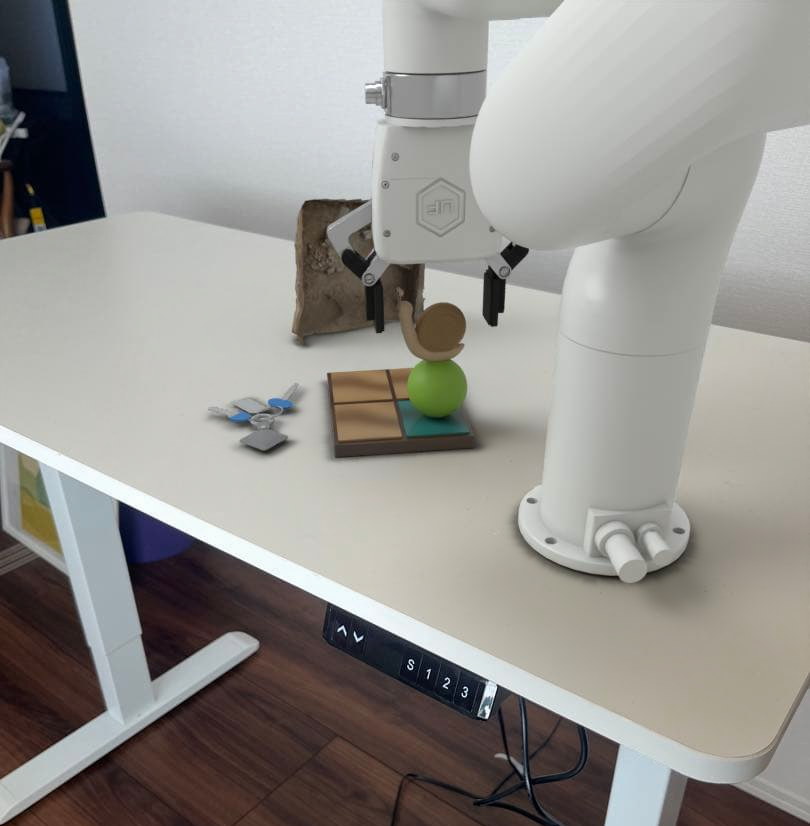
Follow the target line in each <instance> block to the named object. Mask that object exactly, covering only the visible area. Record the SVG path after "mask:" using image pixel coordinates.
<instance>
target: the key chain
mask: <svg viewBox="0 0 810 826" xmlns="http://www.w3.org/2000/svg"><path fill="white" fill-rule="evenodd" d="M298 387H299V383H297V382H294V383H293V384H292V385H291V386H290V387H289V388H288V390H287V391H286V392H285V393H284V394H283V396H282V397H281V398H279V397H273V398H269V399H268V400H267V404H268V406H265V405H263V404H261V403H259V402H257V401H255V400H253V399H252V398H245V399H240V400H235V401H231V402H230V404H232V405H234V406H236V407H238V408H240V409H241V410H243V411H232V410H229V409H227V408H225V409H224V408H220V407H219V406H208V408H207V411H209V412H212V413H213V412H214V413H216V414H221V415H223V416H226V417H228V420H230V421H232V422H236V423H243V422H250V424H251V425H253V426H254V427H257V428H256V429H257V430H255V431H253V432H252V433H250V434H248V435H246V436H244V437H242V438H240V439H239V443H241V444H244V445H246V446H249V447H251V448H255V449H257V450H259V451H263V452H264V451H268V450H269V449H271V448H273V447H275V446H277V445H278V444H280V443H282V442H284V441H286V440H288V439H289V435H287V434H284V433H281V432H278V431H277V430H273V429H270V425H273V423H274V422H275V420H276V419H275V418H276V417H277V416H280V415H281V414H282V413H283V411H284V410H288V409H292V408H293V405H294V403H293V402H292V401H291V400H289V399H290V398H291V396H292V395H293V394H294V393H295V391H296V389H297V388H298ZM271 408H274V409H277V410H280V412H278V413H276V414H275V415H272V414H269V413H262V412H266V411H269V409H271ZM245 411H246V412H245ZM251 414H255V415H253V416H252V417H251ZM269 419H270V420H269ZM255 420H267V421H258V422H256V421H255Z"/></svg>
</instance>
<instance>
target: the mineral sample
mask: <svg viewBox="0 0 810 826" xmlns="http://www.w3.org/2000/svg"><path fill="white" fill-rule="evenodd" d="M370 200H371V198H369V199H362V198H355V199H346V198H339V199H335V198H319V199H317V198H313V199H308V200H304V202H303V203H302V205H301V207H300V209H299V211H298V213H297V217H296V230H295V235H294V243H293V244H294V255H295V256H294V257H295V266H296V270H295V271H296V273H295V274H296V275H295V282H294V283H295V285H294V290H295V295H296V298H295V309H294V310H295V311H294V313H293V314H294V315H293V320H292V324H291V325H292V326H291V333H292V334H294V335H296V337H297V339H298V341H299V343H300V345H302V346H304V338H303V337H304V336H306V335H309V334H317V335H318V334H326V333H328V334H329V333H338V332H343V331H349V330H350V331H351V330H355V329H356V330H357V329H360V328H364V327H368V326H371V325H374V323H373V321H366V315H365V295H364V284H363V282H362V280H360V279H359V278H358V277H357V276H356V275H355V274H354V273H353V272H352V271H351V270H350V269H348V268H347V267H346V266H345V265H344V264H343V262H342V260H341V258H340V257H339V255H338V253H337V252H336V250H335V248H334V247H333V245H332V243H331V241H330V240H329V238H328V235H327V227H328V226H329V225H330V224H332V223H333V222H335V221H337V220H338V219H340V218H342V217H343V216H345V215H347V214H348V213H350V212H352V211H353V210H355V209H357V208H358V207H360V206H361V205H363V204H365V203H366V202H368V201H370ZM348 240H349V242H350V244H351V246H352V247H353V249H354V250H356V251H357V252H358V253H359V254H360V255H361V256H362V257H363V258H364V259H366V257H367V256H368V255H369V253H370V252H371V251H372V249H373V248H374V242H373V238H372V232H371V223H369V224H367V225H366V226H364V227H362V228H361V229H359V230H357V231H356V232H354V233H353V234H351V235H350V236H349V238H348ZM425 271H426V263H422V264H392V263H390V265H389V266H388V267H387V268H386V270H385V271H384V272H383V274H382V275H381V276H380V279H381V282H382V285H383V296H384V323H387V322H391V321H400V319H399V316H398V315H397V309H396V307H397V305H398V299H399V302H400V296H399V295H398V294H397V293H396V292H395V289H396V288H397V287H400V288H401V290H403V291H404V294H403V296H401V301H408V302H409V303H411V305H412V307H413V312H412V320H413V324H416V322H417V320H418V318H419V316H420V315H421V313H422V312H423V311H424V310H425V309H424V308H425V300H426V298H425V297H424V295H423V294H424V290H425ZM397 295H398V296H397Z"/></svg>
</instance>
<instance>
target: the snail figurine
mask: <svg viewBox="0 0 810 826" xmlns="http://www.w3.org/2000/svg"><path fill="white" fill-rule="evenodd" d="M395 292H396V293H397V294H398V295H399V296H400V302H399V299H398V305H397V307H396V309H397V315H398V316H399V319H400V320H399V325H400V329H401V333H402V337H403V340H404V343H405V346H406V347H407V349H408V350H409V352H410V353H411V354H412V355H413V356H414V357H415V358H417V359H420V361H419V362H418V363H417V364H416V365H415V366H414V367H412V368H413V370H412V371H411V373H410V375H409V378H408V382H407V392H408V396H409V399H410V401H411V403H412V405H413V406H414V407H415V408H416V409H417V410H418V411H419V412H420V413H422V414H424V415H426V416H429V417H435V418H439V417H445V416H448V415H450V414H452V413H454V412H455V411H456V410H457V409H458V408H459V407H460V406H461V405H462V406H463V403H464V401H465V400H466V396H467V392H468V381H467V376H466V374H465V372H464V371H463V368H462V367H461V366H460V365H459V364H458V363H457V362H456V361H454V360H453V359H454V358H456V357H457V356H458V355H459V354H460V353H461V352H462V351H463V349H465V343H463V342H462V340H463V339H464V337H465V335H466V331H467V320H466V317H465V315H464V313H463V311H462V310H461V308H459V306H457V305H455V304H453V303H450V302H447V301H446V302H445V301H441V302H435V303H433V304H430V305H429V306H428V307H426V308H425V309H424V311H423V312H422V313H421V315H420V316H419V318H418V320H417V322H416V323H413V320H412V312H413V307H412V305H411V303H409V302H408V301H401V296H403V294H404V291H403V290H401V288H400V287H397V288H396V289H395ZM398 295H397V296H398Z"/></svg>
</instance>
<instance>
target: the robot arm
mask: <svg viewBox="0 0 810 826" xmlns="http://www.w3.org/2000/svg"><path fill="white" fill-rule="evenodd" d="M381 13H382V14H381V15H382V43H383V44H382V45H383V47H382V48H383V71H382V77H379V80H375V81H374V82H371V83H369V82H368V83H364V101H365V105H375V106H377V107H379V106H380V108H381V109H382V110H383V112H384V118H381V119H378V120H376V124H375V125H376V126H375V131H374V139H373V150H372V162H371V164H372V165H371V176H370V177H371V178H370V179H371V180H370V199H371V200H370V199H369V200H370V201H368V202H366V203H365V204H363V205H361V206H360V207H358V208H357V209H355V210H353V211H352V212H350V213H348V214H347V215H345V216H343V217H342V218H340V219H338V220H337V221H335V222H333V223H332V224H330V225H329V226H328V227H327V235H328V238H329V240H330V241H331V243H332V245H333V247H334V248H335V250H336V252H337V253H338V255H339V257H340V258H341V260H342V262H343V264H344V265H345V266H346V267H347V268H348V269H350V270H351V271H352V272H353V273H354V274H355V275H356V276H357V277H358V278H359V279H360V280H362V282H363V284H364V295H365V315H366V321H373V323H374V324H373V326H374V331H375V333H376V335H377V334H383V332H386V331H385V330H386V329H385V322H384V296H383V285H382V282H381V279H380V276H381V275H382V274H383V272H384V271H385V270H386V268H387V267H388V266H389V265H390V263H392V264H422V263H425V264H442V263H458V262H459V263H461V262H474V261H482V260H484V261H485V262H486V263H487V269H486V270H485V272H483V284H482V285H483V286H482V287H483V288H482V291H483V292H482V317H483V319H484V320H485V322H486V324H487V325H488V326H489V327H490V328H491V327H492V328H495V327H498V325H499V314H504V313H505V308H506V307H505V305H506V290H507V289H506V285H507V279H508V278H510V276H511V275H512V271H513V270H514V269H515V268H516V267H517V266H518V265H519V264H520V263H521V262H522V261H523V260H524V259H525V258H526V257H527V256H528V254H529V253H530V250H534V251H539V252H541V251H542V252H554V251H555V252H556V251H564V250H569V249H574V251H573V254H572V257H571V259H570V261H569V264H568V266H567V270H566V275H565V278H564V281H563V285H562V290H561V294H560V301H559V302H560V303H559V308H558V309H559V310H558V319H557V327H556V337H555V348H554V356H553V357H554V358H553V368H552V378H551V389H550V400H549V409H548V419H547V420H548V421H547V431H546V440H545V449H544V450H545V452H544V460H543V472H542V473H543V474H542V482H541V483H540V484H538V485H536V486H534V487H533V488H532V489H530V490H529V491H528V492H527V493H526V494H525V495H524V496H523V498H522V499H521V501H520V504H519V508H518V515H517V516H518V517H517V524H518V528H519V532H520V534H521V535H522V537H523V539H524V540H525V542H526V543H527V544H528V545H529V546H530V547H531V548H532V549H533V550H535V551H536V552H537V553H539V554H540V555H541V556H543V557H545V558H546V559H548V560H549V561H552V562H554V563H556V564H558V565H560V566H563V567H566V568H568V569H571V570H574V571H578V572H583V573H587V574H591V575H598V576H599V575H600V576H611V577H612V576H614V577H615V576H618V577H619V579H620V581H622V582H624V583H626V584H634V583H637V582H640V581H641V580H642V579H643V578H645V577H646V575H647V573H651V572H654V571H657V570H660V569H662V568H665V567H666V566H669V565H671V564H672V563H674V562H675V561H676V560H678V559H679V558H680V557H681V555H682V554H683V553H684V552H685V551H686V549H687V546H688V543H689V540H690V533H691V524H690V519H689V517H688V516H687V513H686V511H685V510H684V509H683V508H682V507H681V506H680V505H679V504H678V502H676V500H675V497H676V493H677V488H678V484H679V479H680V478H679V477H680V473H681V470H682V469H681V468H682V464H683V459H684V454H685V449H686V445H687V441H688V440H687V439H688V435H689V429H690V425H691V420H692V415H693V409H694V405H695V401H696V397H697V391H698V385H699V382H700V377H701V371H702V367H703V362H704V358H705V357H704V356H705V352H706V347H707V342H708V338H709V336H710V332H711V331H710V330H711V326H712V321H713V316H714V313H715V307H716V303H717V297H718V294H719V290H720V285H721V282H722V277H723V274H724V271H725V266H726V262H727V259H728V256H729V252H730V249H731V247H732V244H733V241H734V238H735V236H736V232H737V230H738V227H739V224H740V222H741V219H742V217H743V214H744V212H745V209H746V207H747V205H748V201H749V199H750V197H751V194H752V191H753V188H754V186H755V183H756V180H757V178H758V175H759V174H758V173H759V171H760V167H761V164H762V161H763V158H764V153H765V146H766V142H767V134H768V133H771V132H777V131H782V130H787V129H792V128H798V127H805V126H809V125H810V0H381ZM535 18H536V19H537V18H546V20H545V21H544V23H543V24H542V25H541V26H540V27H539V28H538V29H537V30H536V31H535V32H534V34H532V35H531V37H530V38H529V39H528V40H527V41H526V42H525V44H523V45H522V47H521V48H519V50H518V51H517V52H516V53H515V55H514V56H513V57H512V58H511V59H510V60H509V62H508V63H507V64H506V65H505V67H504V68H503V69H502V71H501V72H500V73H499V75H498V76H497V77H496V79H495V81H494V82H493V83H492V85H491V87H490V89H489V90H488V89H487V88H488V61H489V57H488V56H489V32H490V31H489V29H490V28H489V27H490V22H494V21H495V22H497V21H513V20H521V19H535ZM487 90H488V91H487ZM369 223H371V232H372V238H373V242H374V248H373V249H372V251H371V252H370V253H369V255H368V256H367V257H366V259H364V258H363V257H362V256H361V255H360V254H359V253H358V252H357V251H356V250H354V249H353V247H352V246H351V244H350V242H349V240H348V238H349V236H350V235H351V234H353V233H354V232H356V231H357V230H359V229H361V228H362V227H364V226H366V225H367V224H369ZM503 238H505V239H506V240H508V241H510V242H509V243H508V244H507V245H506V246H505V247H504V248H503V249H502V250H501V251H500V249H501V246H502V240H503Z"/></svg>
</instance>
